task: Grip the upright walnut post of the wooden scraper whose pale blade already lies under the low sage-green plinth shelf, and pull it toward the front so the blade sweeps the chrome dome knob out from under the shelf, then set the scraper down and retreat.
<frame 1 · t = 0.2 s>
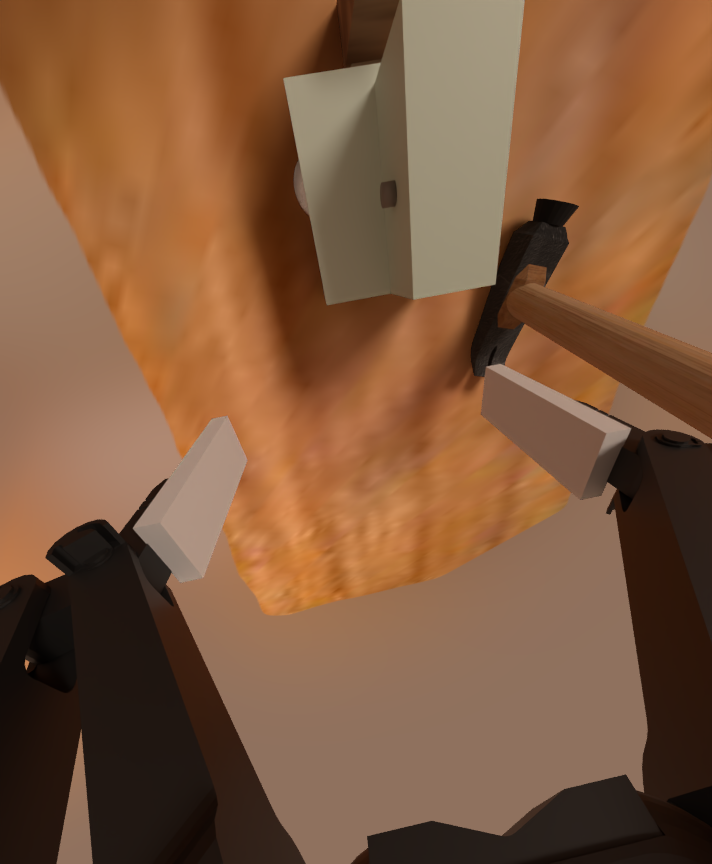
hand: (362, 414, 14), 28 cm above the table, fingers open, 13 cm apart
chrome dome knob: (321, 188, 30), on the table
hammer: (502, 298, 39), on the table
plinth shelf: (369, 214, 32), on the table
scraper: (361, 36, 25), on the table
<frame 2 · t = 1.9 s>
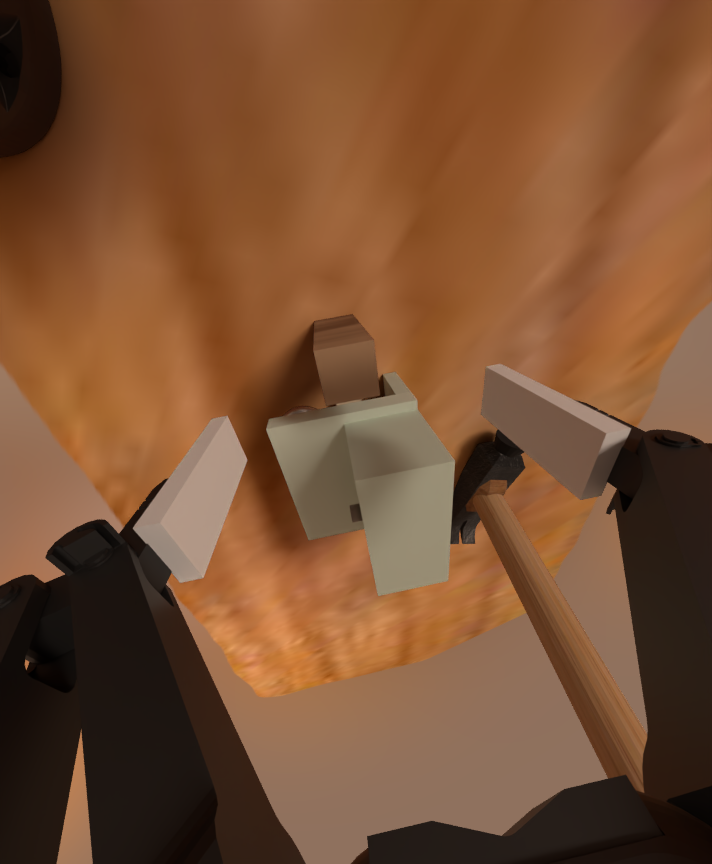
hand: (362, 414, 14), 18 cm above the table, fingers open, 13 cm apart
chrome dome knob: (304, 426, 34), on the table
hammer: (471, 479, 43), on the table
plinth shelf: (347, 439, 36), on the table
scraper: (337, 337, 29), on the table
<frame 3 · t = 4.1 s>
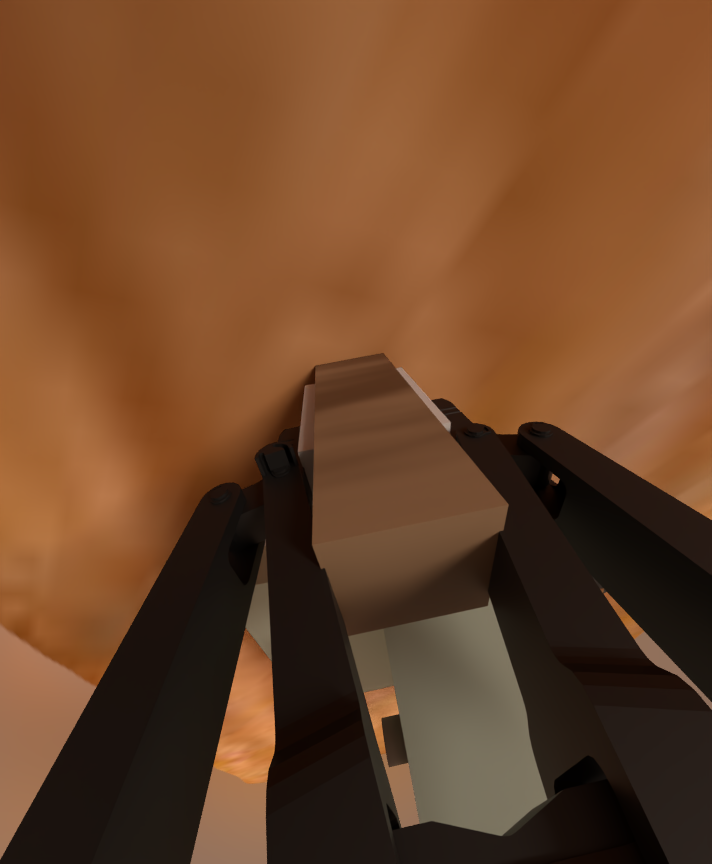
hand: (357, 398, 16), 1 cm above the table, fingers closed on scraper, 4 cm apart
plinth shelf: (366, 531, 23), on the table
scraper: (354, 391, 17), on the table, touching gripper
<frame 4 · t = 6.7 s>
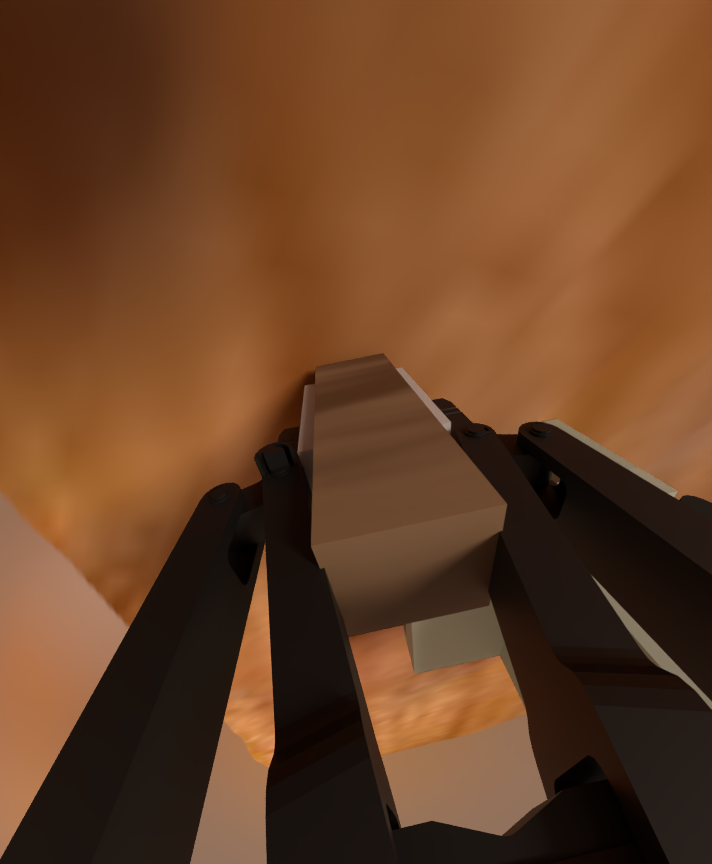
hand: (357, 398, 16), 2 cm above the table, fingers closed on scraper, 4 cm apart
hammer: (602, 551, 31), on the table
plinth shelf: (460, 510, 24), on the table
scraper: (355, 391, 17), point 1 cm above the table, touching gripper, chrome dome knob
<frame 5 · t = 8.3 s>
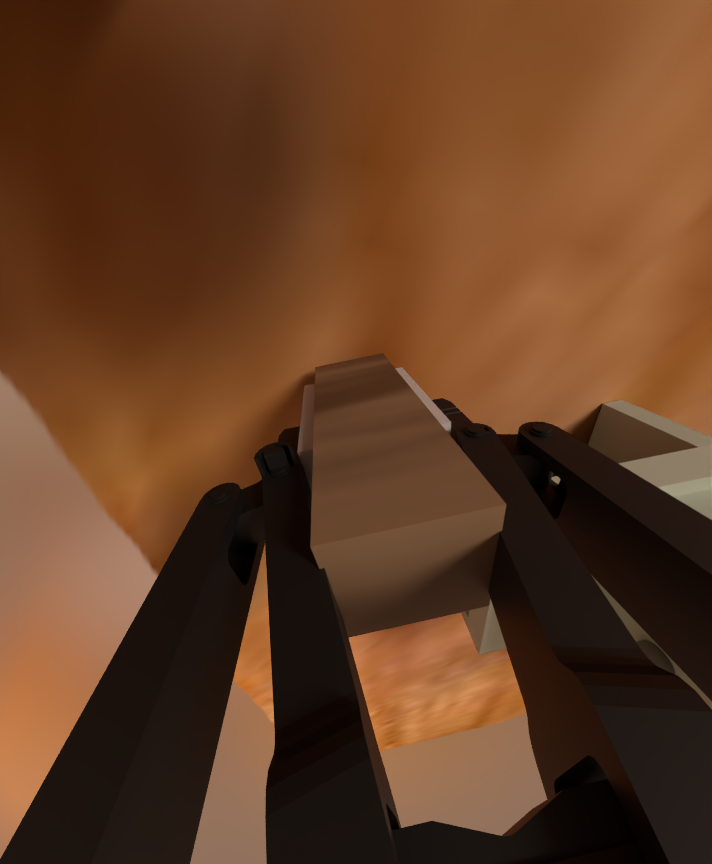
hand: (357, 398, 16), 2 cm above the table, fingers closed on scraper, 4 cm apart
plinth shelf: (516, 494, 24), on the table
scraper: (354, 392, 17), point 1 cm above the table, touching gripper
when the fingers open (1 cm above the table, at t = 9.6 s): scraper stays where it is, on the table.
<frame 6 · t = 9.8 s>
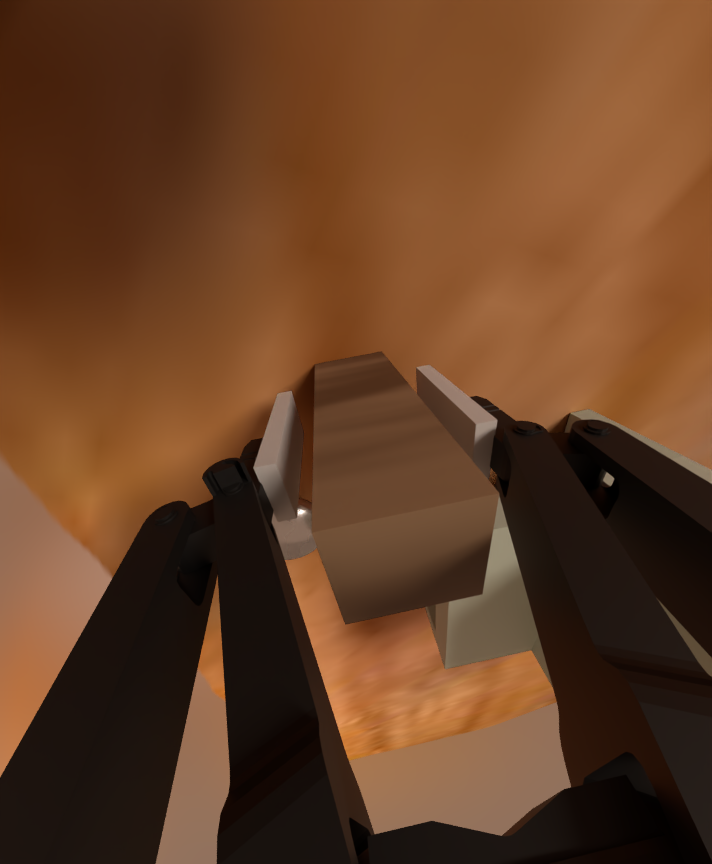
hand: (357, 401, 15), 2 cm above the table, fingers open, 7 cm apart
chrome dome knob: (286, 520, 22), on the table
plinth shelf: (487, 504, 24), on the table
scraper: (353, 389, 17), on the table
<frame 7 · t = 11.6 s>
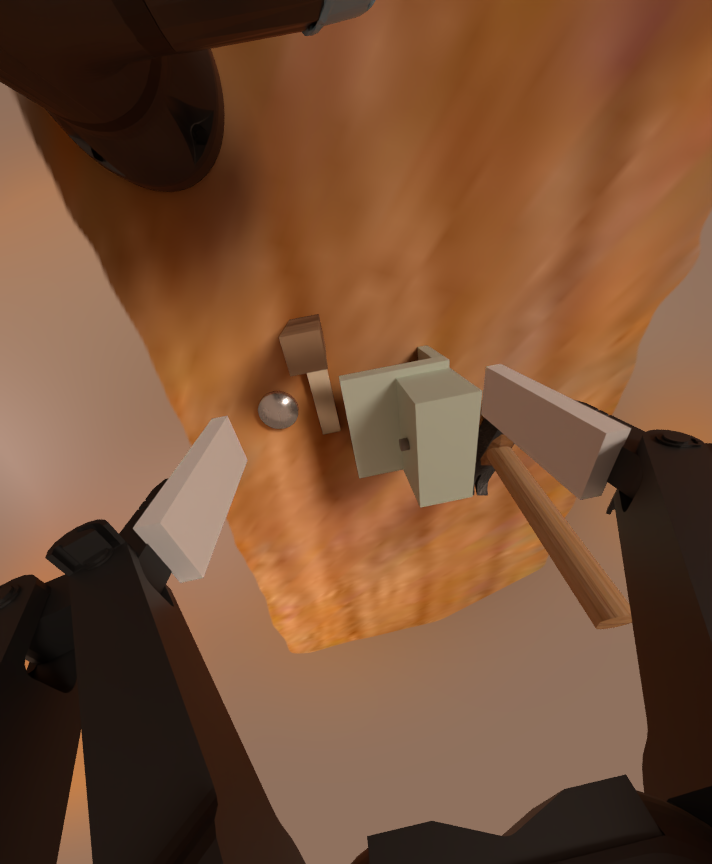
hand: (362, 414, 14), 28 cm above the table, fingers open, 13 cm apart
chrome dome knob: (279, 407, 43), on the table
hammer: (484, 439, 52), on the table
plinth shelf: (386, 402, 45), on the table
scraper: (307, 332, 38), on the table
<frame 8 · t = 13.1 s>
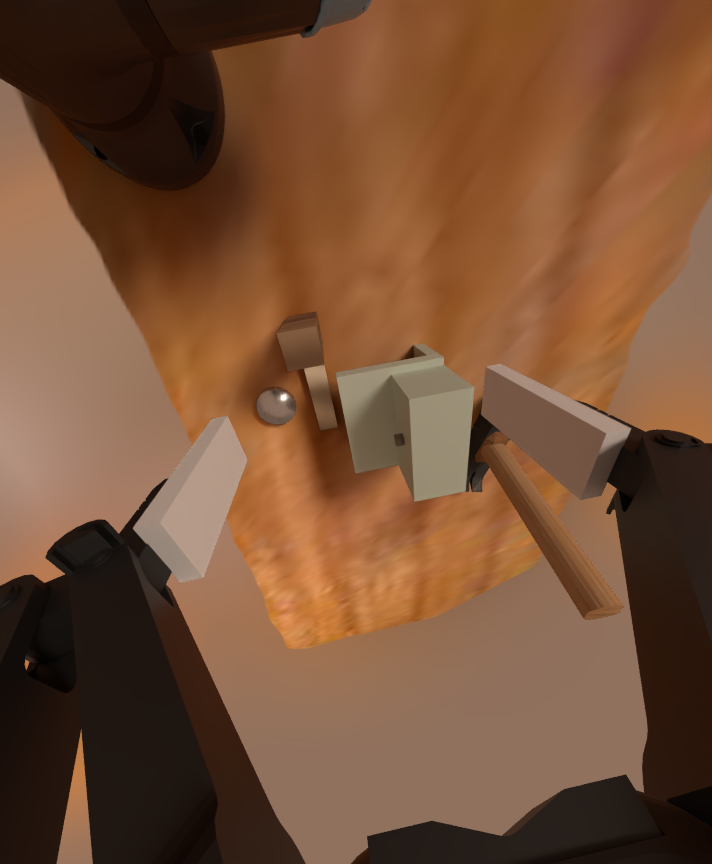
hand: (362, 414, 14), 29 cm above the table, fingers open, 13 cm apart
chrome dome knob: (277, 403, 44), on the table
hammer: (479, 437, 52), on the table
plinth shelf: (383, 399, 45), on the table
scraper: (305, 329, 38), on the table
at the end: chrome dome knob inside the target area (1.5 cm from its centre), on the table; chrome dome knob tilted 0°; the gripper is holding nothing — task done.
